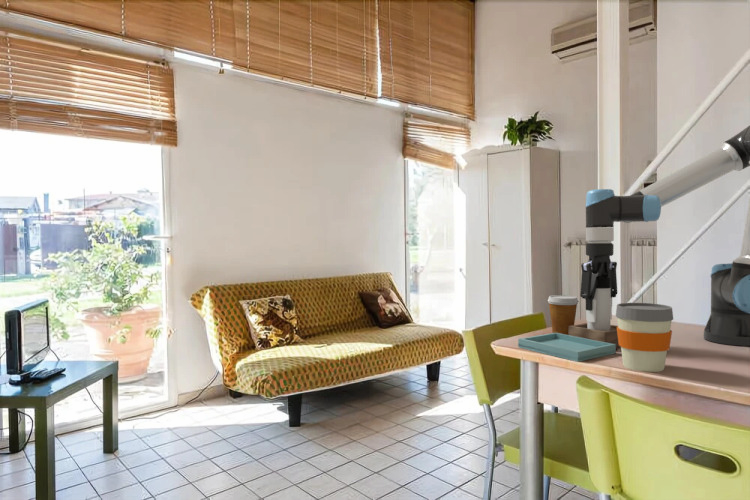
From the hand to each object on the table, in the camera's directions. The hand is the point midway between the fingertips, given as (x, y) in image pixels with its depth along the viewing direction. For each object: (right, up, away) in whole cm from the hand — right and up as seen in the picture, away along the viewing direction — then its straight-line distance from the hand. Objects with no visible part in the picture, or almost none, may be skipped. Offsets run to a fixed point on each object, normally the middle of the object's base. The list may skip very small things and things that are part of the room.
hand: (599, 320), depth 153 cm
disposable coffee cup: (-5, -7, +16) cm, 18 cm away
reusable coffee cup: (0, -8, -26) cm, 27 cm away
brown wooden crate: (0, -7, 0) cm, 7 cm away
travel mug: (0, -7, 0) cm, 7 cm away
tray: (-13, -7, -8) cm, 17 cm away
